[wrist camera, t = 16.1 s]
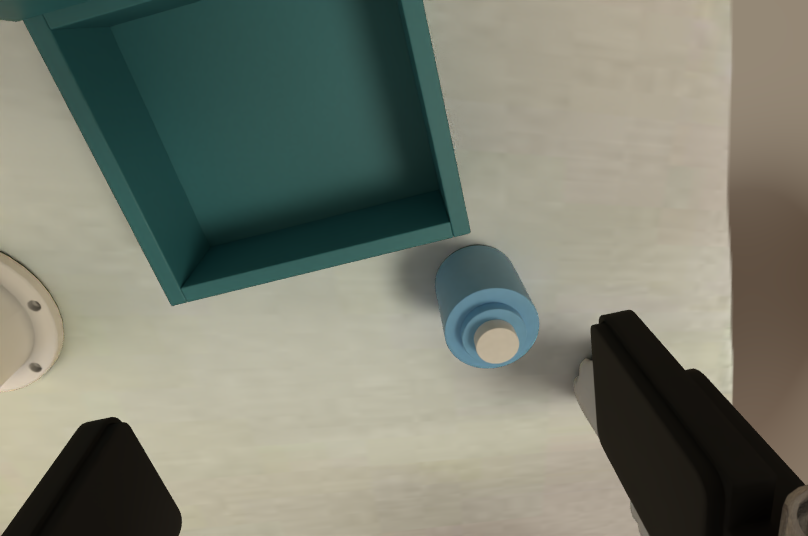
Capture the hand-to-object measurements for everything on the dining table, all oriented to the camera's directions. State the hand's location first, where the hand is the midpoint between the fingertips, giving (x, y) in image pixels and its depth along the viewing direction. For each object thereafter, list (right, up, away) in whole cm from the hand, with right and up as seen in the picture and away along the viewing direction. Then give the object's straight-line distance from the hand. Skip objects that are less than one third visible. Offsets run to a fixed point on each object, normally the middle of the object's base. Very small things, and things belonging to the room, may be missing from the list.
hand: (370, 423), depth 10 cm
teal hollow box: (-7, +13, +22) cm, 27 cm away
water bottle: (+6, +2, +28) cm, 29 cm away
